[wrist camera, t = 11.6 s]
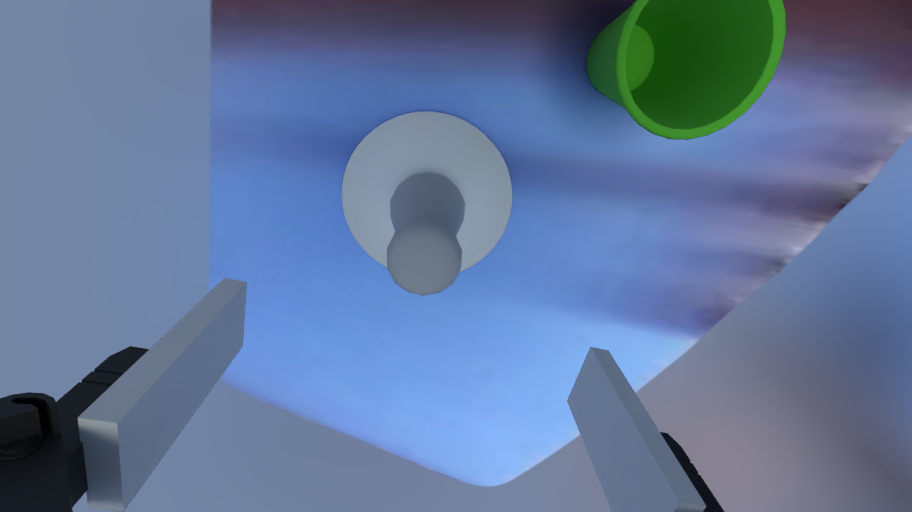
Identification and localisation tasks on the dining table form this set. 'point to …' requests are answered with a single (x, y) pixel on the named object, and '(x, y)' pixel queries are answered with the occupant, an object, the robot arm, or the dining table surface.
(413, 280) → the salt shaker
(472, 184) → the ceramic plate
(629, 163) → the dining table surface
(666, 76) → the cup
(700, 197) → the dining table surface
